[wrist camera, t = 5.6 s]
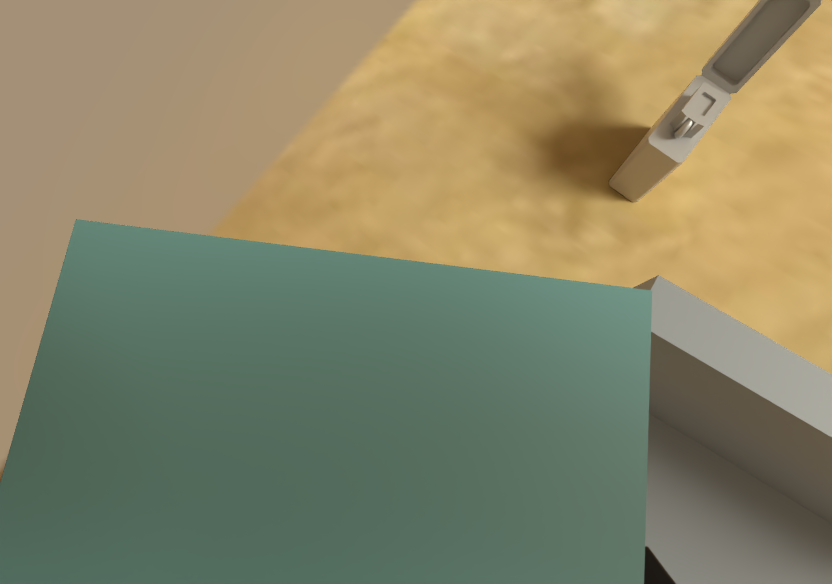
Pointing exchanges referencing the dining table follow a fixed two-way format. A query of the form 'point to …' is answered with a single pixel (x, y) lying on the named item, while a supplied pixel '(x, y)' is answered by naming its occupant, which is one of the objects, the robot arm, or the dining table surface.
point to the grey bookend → (734, 450)
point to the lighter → (709, 94)
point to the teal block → (325, 421)
